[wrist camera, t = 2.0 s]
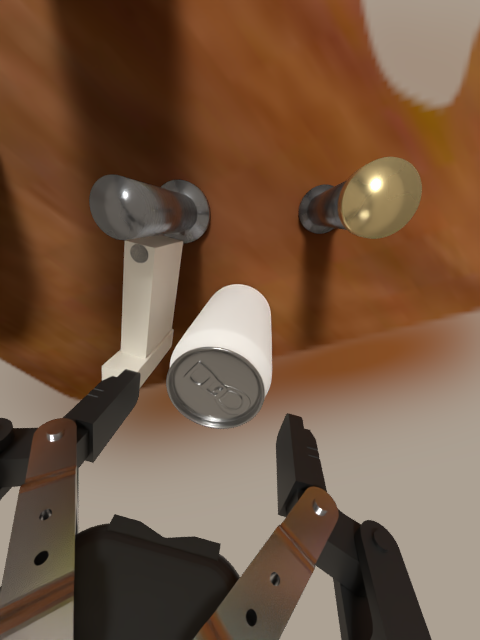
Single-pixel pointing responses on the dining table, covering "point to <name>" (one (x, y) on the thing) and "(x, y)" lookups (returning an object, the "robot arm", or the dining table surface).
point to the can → (224, 360)
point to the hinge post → (149, 209)
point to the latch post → (365, 200)
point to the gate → (146, 305)
